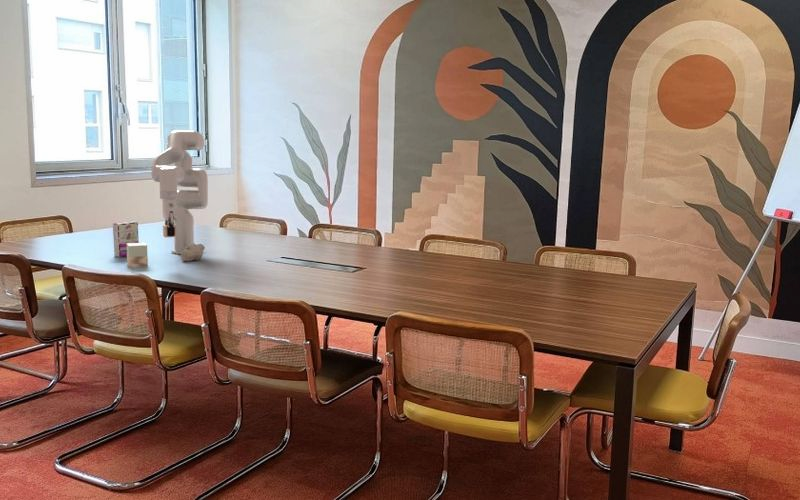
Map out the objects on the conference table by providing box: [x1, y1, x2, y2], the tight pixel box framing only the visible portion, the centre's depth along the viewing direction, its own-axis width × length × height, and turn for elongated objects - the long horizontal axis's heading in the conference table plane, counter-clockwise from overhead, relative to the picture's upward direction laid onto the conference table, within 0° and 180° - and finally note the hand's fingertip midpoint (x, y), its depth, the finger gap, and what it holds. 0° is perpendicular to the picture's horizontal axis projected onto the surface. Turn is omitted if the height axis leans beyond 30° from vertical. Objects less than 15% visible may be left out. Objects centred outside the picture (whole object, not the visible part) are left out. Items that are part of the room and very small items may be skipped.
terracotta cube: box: [162, 224, 177, 238], centre depth 355 cm, size 5×5×5 cm
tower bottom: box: [126, 255, 149, 268], centre depth 360 cm, size 8×8×5 cm
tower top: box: [127, 242, 148, 257], centre depth 359 cm, size 8×8×5 cm
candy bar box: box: [112, 220, 140, 258], centre depth 383 cm, size 11×5×16 cm, turn 143°
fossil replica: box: [180, 243, 206, 262], centre depth 376 cm, size 12×8×10 cm
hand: (169, 234), depth 356 cm, fingers closed on terracotta cube, 4 cm apart
